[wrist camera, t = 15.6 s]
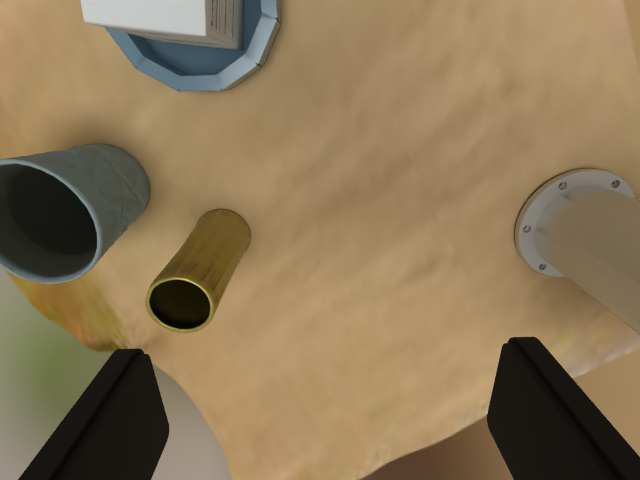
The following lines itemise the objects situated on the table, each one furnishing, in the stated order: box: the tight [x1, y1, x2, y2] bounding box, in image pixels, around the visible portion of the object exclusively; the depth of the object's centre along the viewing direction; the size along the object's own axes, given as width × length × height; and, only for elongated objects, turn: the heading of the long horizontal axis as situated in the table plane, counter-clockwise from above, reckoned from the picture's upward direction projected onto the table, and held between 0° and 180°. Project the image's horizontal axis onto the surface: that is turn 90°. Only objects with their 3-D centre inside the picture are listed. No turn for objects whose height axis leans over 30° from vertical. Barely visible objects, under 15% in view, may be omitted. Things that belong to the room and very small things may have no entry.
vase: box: [145, 209, 250, 333], centre depth 34 cm, size 6×6×14 cm
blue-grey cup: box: [0, 144, 150, 284], centre depth 33 cm, size 10×10×12 cm
